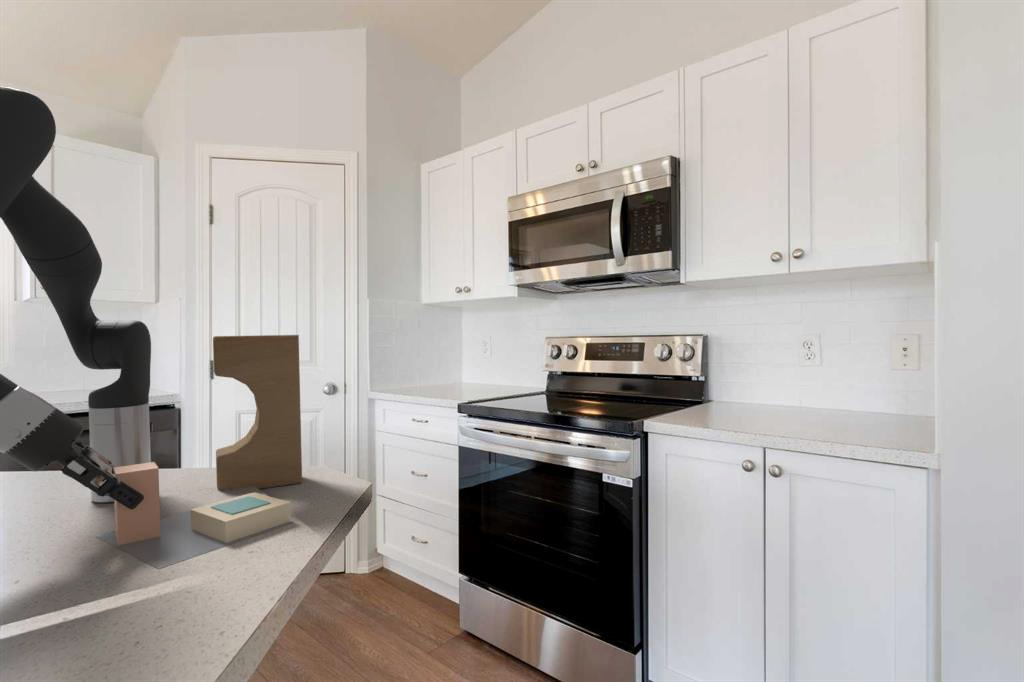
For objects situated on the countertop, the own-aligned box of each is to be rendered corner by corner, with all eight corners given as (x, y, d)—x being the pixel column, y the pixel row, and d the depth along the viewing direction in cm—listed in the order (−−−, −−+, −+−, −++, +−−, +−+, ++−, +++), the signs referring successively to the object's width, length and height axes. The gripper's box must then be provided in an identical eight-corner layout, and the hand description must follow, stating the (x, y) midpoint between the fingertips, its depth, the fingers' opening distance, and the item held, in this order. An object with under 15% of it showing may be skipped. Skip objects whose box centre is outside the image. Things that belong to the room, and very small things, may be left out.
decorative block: (217, 495, 101) (213, 336, 100) (216, 486, 107) (212, 336, 107) (302, 483, 108) (299, 334, 108) (296, 475, 115) (293, 334, 114)
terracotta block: (118, 545, 75) (115, 474, 75) (115, 535, 79) (113, 467, 79) (160, 536, 78) (158, 467, 78) (155, 526, 82) (154, 461, 82)
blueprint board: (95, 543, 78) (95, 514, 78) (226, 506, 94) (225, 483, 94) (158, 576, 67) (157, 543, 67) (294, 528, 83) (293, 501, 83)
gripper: (52, 411, 67) (164, 485, 74) (54, 401, 78) (151, 466, 85) (-5, 461, 64) (117, 532, 71) (5, 443, 75) (110, 507, 82)
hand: (135, 496), depth 78 cm, fingers open, 8 cm apart
